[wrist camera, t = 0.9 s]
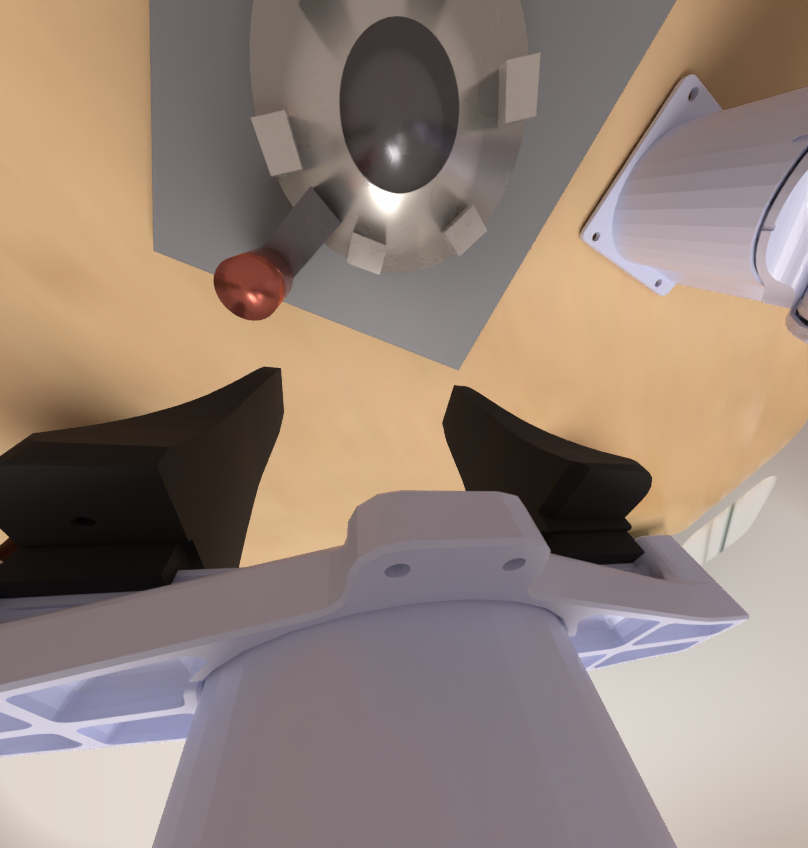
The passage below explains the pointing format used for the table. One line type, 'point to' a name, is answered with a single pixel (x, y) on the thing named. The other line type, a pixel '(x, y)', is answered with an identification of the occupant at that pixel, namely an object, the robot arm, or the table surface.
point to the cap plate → (268, 206)
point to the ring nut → (381, 132)
